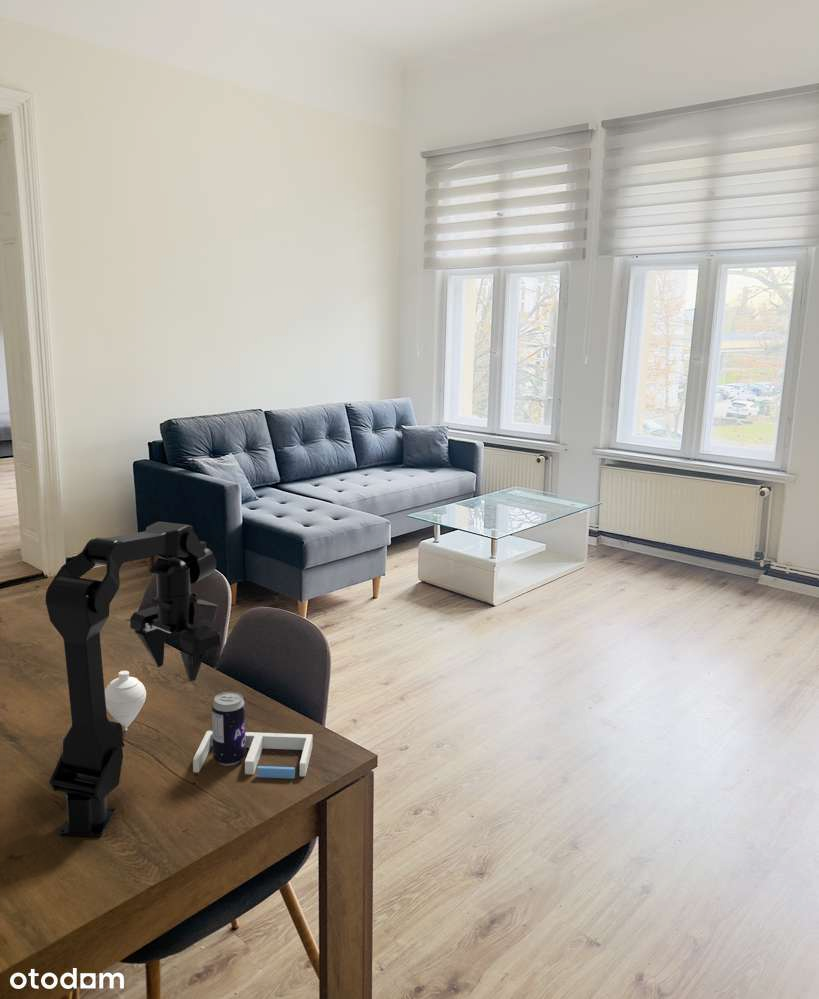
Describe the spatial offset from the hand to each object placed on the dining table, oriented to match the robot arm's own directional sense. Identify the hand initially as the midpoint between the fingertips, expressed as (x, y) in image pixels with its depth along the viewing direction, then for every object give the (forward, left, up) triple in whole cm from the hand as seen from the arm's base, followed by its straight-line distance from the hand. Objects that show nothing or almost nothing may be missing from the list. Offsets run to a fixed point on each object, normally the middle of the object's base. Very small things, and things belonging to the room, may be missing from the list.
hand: (175, 673), depth 144 cm
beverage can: (-5, -11, -14) cm, 18 cm away
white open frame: (-5, -15, -14) cm, 21 cm away
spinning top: (+3, +11, -14) cm, 18 cm away
